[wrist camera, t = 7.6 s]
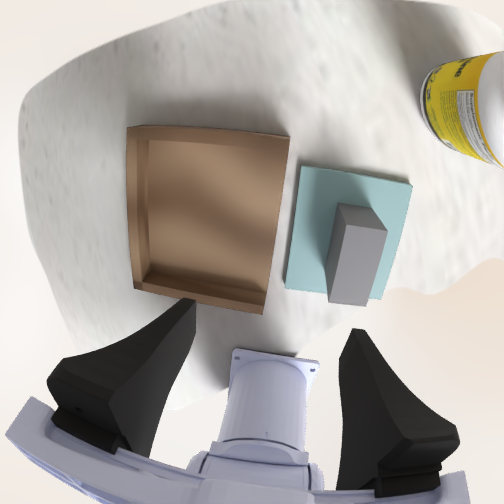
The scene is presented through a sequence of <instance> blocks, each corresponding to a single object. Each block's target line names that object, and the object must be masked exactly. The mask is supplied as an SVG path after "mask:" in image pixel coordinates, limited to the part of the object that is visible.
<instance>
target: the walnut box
mask: <svg viewBox="0 0 504 504" xmlns="http://www.w3.org/2000/svg"><path fill="white" fill-rule="evenodd" d="M289 143H290V137H287V136H280V135H273V134H266V133H258V132H249V131H240V130H230V129H219V128H206V127H190V126H168V125H139V126H133V127H127V146H126V184H127V214H128V231H129V245H130V257H131V267H132V276H133V285H134V289H138V290H142V291H147V292H151V293H155V294H160V295H164V296H169V297H173V298H178V299H182V298H183V297H185V298H190V299H194V300H196V302H197V303H202V304H207V305H212V306H217V307H222V308H228V309H233V310H238V311H244V312H249V313H255V314H261V315H263V309H264V304H265V299H266V293H267V287H268V281H269V275H270V269H271V263H272V256H273V250H274V244H275V238H276V231H277V225H278V218H279V212H280V205H281V199H282V192H283V185H284V178H285V171H286V165H287V158H288V151H289Z"/></svg>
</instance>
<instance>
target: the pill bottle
mask: <svg viewBox="0 0 504 504" xmlns="http://www.w3.org/2000/svg"><path fill="white" fill-rule="evenodd" d="M420 103H421V110H422V114H423V118H424V120H425V123H426V125H427V127H428V128H429V130H430V132H431V133H432V134H433V136H434V137H435V138H436V139H437V140H438V141H439V142H441V143H442V144H443V145H445V146H447V147H448V148H451V149H453V150H455V151H458V152H461V153H463V154H466V155H469V156H471V157H474V158H476V159H479V160H482V161H484V162H487V163H489V164H492V165H495V166H497V167H499V168H502V169H504V51H501V52H495V53H490V54H486V55H480V56H475V57H471V58H466V59H462V60H458V61H454V62H450V63H446V64H443V65H440V66H437V67H436V68H434V69H433V70H431V71H430V72H429V73H428V75H427V76H426V78H425V80H424V82H423V84H422V88H421V93H420Z"/></svg>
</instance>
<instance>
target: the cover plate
mask: <svg viewBox="0 0 504 504" xmlns="http://www.w3.org/2000/svg"><path fill="white" fill-rule="evenodd" d="M412 188H413V186H412V185H411V184H408V183H403V182H398V181H394V180H389V179H384V178H379V177H373V176H368V175H363V174H357V173H351V172H345V171H339V170H333V169H327V168H320V167H313V166H306V165H301V171H300V180H299V188H298V196H297V203H296V211H295V218H294V226H293V233H292V240H291V247H290V254H289V261H288V268H287V274H286V281H285V288H286V289H293V290H301V291H309V292H318V293H326V294H328V302H329V303H338V304H347V305H356V306H366V304H367V302H368V299H369V298H371V299H381V298H382V295H383V292H384V289H385V286H386V283H387V280H388V277H389V274H390V271H391V268H392V265H393V261H394V258H395V255H396V251H397V248H398V244H399V241H400V237H401V233H402V230H403V226H404V222H405V218H406V214H407V210H408V206H409V201H410V197H411V193H412Z"/></svg>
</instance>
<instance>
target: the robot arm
mask: <svg viewBox="0 0 504 504" xmlns="http://www.w3.org/2000/svg"><path fill="white" fill-rule="evenodd" d="M195 333H196V300H194V299H190V298H185V297H183V298H182V299H180V300H179V301H178V302H177V303H176V304H174V305H173V306H172V307H171V308H169V309H168V310H167V311H166V312H164V313H163V314H162V315H160V316H159V317H158V318H156V319H155V320H154V321H152V322H151V323H149V324H148V325H146V326H145V327H143V328H142V329H140V330H139V331H137V332H135V333H134V334H132V335H130V336H128V337H126V338H125V339H123V340H121V341H118V342H116V343H114V344H111V345H109V346H107V347H104V348H101V349H98V350H96V351H92V352H89V353H86V354H82V355H77V356H73V357H68V358H63V359H62V360H61V361H60V363H59V364H58V365H57V366H56V368H55V369H54V370H53V372H52V373H51V374H50V376H49V377H48V379H47V386H48V389H49V391H50V393H51V394H52V396H53V398H54V400H55V401H56V403H57V405H58V406H59V407H58V409H57V410H56V411H54V410H53V409H52V408H51V407H49V406H48V405H46V404H44V403H43V402H41V401H39V400H38V399H36V398H34V397H30V398H29V400H28V401H27V403H26V404H25V406H24V407H23V408H22V410H21V411H20V413H19V414H18V416H17V417H16V418H15V420H14V421H13V423H12V425H11V426H10V427H9V429H8V430H7V432H6V434H5V435H6V437H7V438H8V439H9V440H10V441H11V442H12V443H13V444H14V445H15V446H16V447H17V448H18V449H19V450H20V451H21V452H22V453H23V454H24V455H25V456H26V457H27V458H28V459H29V460H30V461H32V462H33V463H35V464H36V465H38V466H39V467H41V468H42V469H44V470H45V471H47V472H48V473H50V474H51V475H53V476H55V477H56V478H58V479H59V480H61V481H63V482H65V483H66V484H68V485H70V486H71V487H73V488H74V489H77V490H78V491H80V492H82V493H83V494H85V495H87V496H89V497H91V498H93V499H95V500H97V501H99V502H100V503H103V504H470V498H469V492H468V487H467V482H466V477H465V472H464V471H458V472H454V473H449V474H445V475H442V476H440V477H439V471H440V470H442V465H441V462H442V461H444V460H445V459H446V458H447V457H448V456H450V455H451V454H452V453H453V452H454V451H455V450H456V449H457V448H458V446H459V444H460V439H459V435H458V432H457V428H456V426H455V425H454V424H452V423H451V422H449V421H448V420H446V419H444V418H443V417H441V416H440V415H438V414H437V413H435V412H434V411H433V410H431V409H430V408H429V407H428V406H426V405H425V404H424V403H423V402H422V401H421V400H420V399H418V398H417V397H416V396H415V395H414V394H413V393H412V392H411V391H410V390H409V389H408V388H407V387H406V386H405V385H404V383H403V382H402V381H401V380H400V379H399V378H398V376H397V375H396V374H395V373H394V371H393V370H392V369H391V367H390V366H389V365H388V363H387V362H386V361H385V359H384V358H383V356H382V355H381V353H380V352H379V350H378V349H377V347H376V346H375V344H374V343H373V341H372V340H371V338H370V337H369V336H368V334H367V332H366V331H365V330H363V329H355V328H353V329H352V331H351V333H350V335H349V338H348V340H347V342H346V345H345V347H344V349H343V351H342V353H341V356H340V358H339V386H340V396H341V406H342V417H343V431H342V448H341V459H340V467H339V475H338V480H337V486H336V491H328V490H327V491H326V490H324V477H323V473H322V471H321V470H320V469H319V468H318V466H317V465H316V464H315V463H308V456H309V453H308V452H304V449H305V432H306V408H307V395H308V393H309V391H310V388H311V386H312V384H313V381H314V379H315V376H316V374H317V371H318V369H319V362H318V361H316V360H309V359H301V358H294V357H287V356H281V355H274V354H268V353H262V352H256V351H251V350H245V349H240V348H236V349H234V350H233V353H232V361H231V371H230V381H229V391H228V403H227V406H226V410H225V414H224V418H223V422H222V426H221V429H220V434H219V437H218V441H217V442H215V441H213V442H212V444H211V448H210V451H209V452H208V451H201V452H199V453H198V454H197V455H195V456H194V457H193V458H192V459H191V460H190V462H189V464H188V466H187V469H186V470H185V469H181V468H177V467H174V466H170V465H167V464H164V463H161V462H158V461H155V460H152V459H149V456H150V452H151V448H152V444H153V441H154V437H155V434H156V430H157V427H158V424H159V420H160V417H161V414H162V412H163V409H164V406H165V403H166V400H167V397H168V394H169V392H170V390H171V387H172V385H173V383H174V381H175V379H176V377H177V375H178V373H179V371H180V369H181V367H182V365H183V363H184V361H185V359H186V357H187V355H188V353H189V351H190V348H191V345H192V342H193V339H194V336H195ZM236 356H238V357H236ZM312 368H314V369H312Z"/></svg>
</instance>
